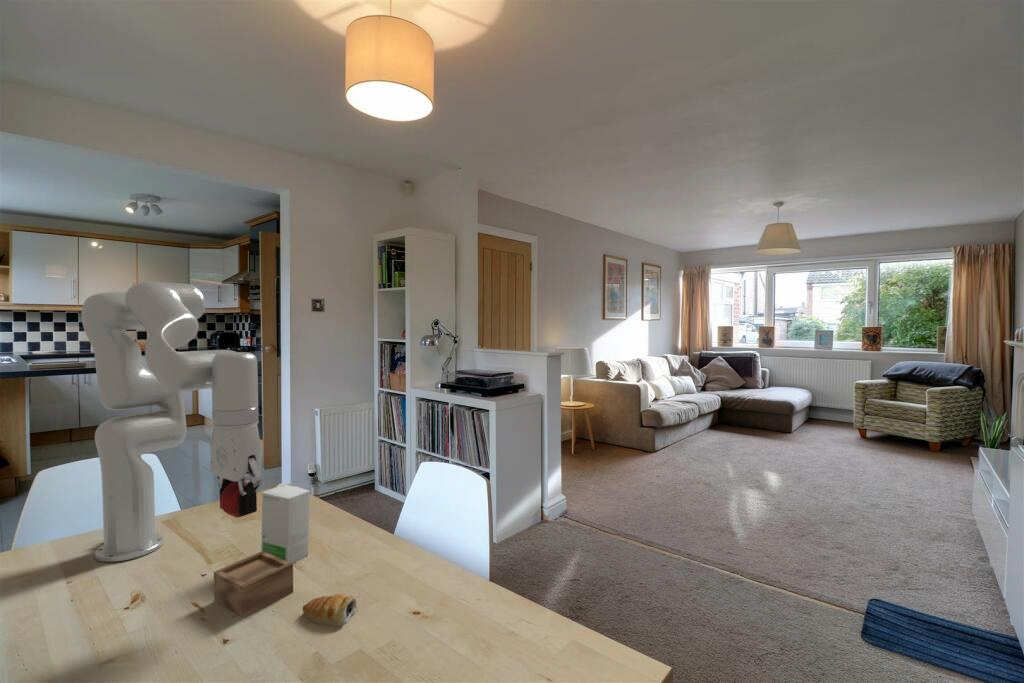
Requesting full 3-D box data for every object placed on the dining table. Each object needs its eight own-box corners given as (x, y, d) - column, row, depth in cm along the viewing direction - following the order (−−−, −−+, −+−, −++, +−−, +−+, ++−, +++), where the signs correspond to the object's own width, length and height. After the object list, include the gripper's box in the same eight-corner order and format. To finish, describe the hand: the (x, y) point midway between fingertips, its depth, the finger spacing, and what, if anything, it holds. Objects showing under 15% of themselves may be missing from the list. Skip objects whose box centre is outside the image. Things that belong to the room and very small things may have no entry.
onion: (239, 525, 90) (238, 482, 90) (213, 521, 92) (212, 480, 91) (261, 512, 96) (261, 472, 96) (237, 510, 97) (236, 470, 97)
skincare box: (260, 560, 110) (259, 492, 109) (284, 547, 116) (283, 483, 116) (288, 567, 107) (287, 498, 106) (311, 554, 113) (310, 488, 112)
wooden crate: (214, 601, 94) (213, 572, 94) (263, 577, 103) (263, 551, 102) (244, 618, 89) (243, 587, 89) (293, 592, 98) (292, 563, 97)
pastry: (294, 625, 88) (294, 604, 87) (314, 603, 94) (314, 584, 94) (343, 630, 86) (343, 609, 86) (360, 608, 93) (360, 588, 93)
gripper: (192, 415, 95) (195, 507, 95) (241, 426, 85) (243, 527, 86) (232, 409, 101) (234, 495, 102) (281, 418, 92) (283, 513, 92)
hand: (238, 509), depth 94 cm, fingers closed on onion, 5 cm apart
